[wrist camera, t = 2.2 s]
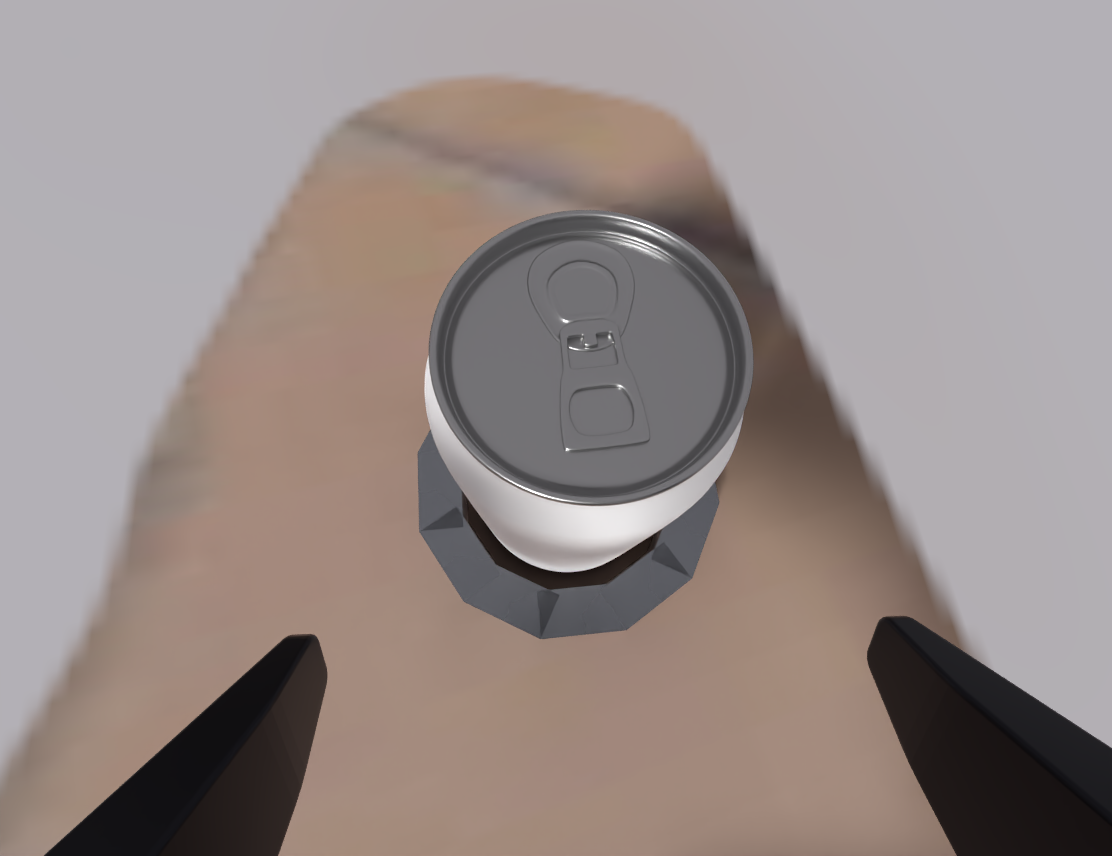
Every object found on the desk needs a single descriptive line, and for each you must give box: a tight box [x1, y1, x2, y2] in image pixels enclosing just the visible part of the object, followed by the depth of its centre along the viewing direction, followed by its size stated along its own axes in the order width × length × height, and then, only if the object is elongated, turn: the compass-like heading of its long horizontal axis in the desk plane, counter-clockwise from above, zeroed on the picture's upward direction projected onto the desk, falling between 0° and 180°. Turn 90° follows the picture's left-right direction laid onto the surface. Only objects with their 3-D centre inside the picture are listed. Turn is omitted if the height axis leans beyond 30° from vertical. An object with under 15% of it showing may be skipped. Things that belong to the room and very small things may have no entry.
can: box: [425, 210, 753, 572], centre depth 15 cm, size 6×6×12 cm
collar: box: [418, 430, 719, 639], centre depth 20 cm, size 10×10×2 cm
